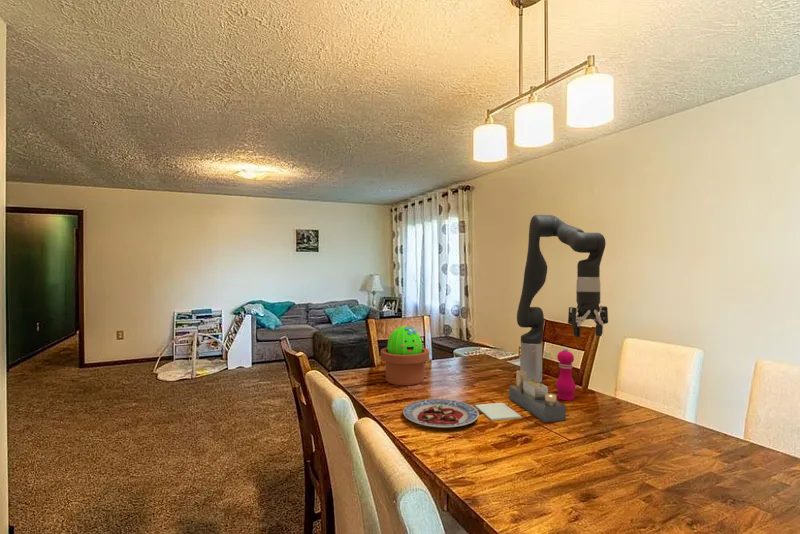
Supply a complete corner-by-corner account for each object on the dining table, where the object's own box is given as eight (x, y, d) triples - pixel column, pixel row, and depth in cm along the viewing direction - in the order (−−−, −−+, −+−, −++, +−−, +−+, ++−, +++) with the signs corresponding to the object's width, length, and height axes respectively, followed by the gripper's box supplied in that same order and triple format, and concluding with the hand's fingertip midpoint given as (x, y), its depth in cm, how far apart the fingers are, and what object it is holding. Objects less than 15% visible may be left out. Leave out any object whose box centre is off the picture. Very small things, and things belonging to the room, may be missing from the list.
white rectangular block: (523, 392, 146) (523, 379, 146) (535, 391, 148) (535, 378, 148) (535, 399, 139) (535, 385, 139) (547, 398, 140) (547, 384, 140)
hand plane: (509, 398, 154) (509, 370, 154) (527, 397, 156) (527, 369, 156) (544, 422, 131) (544, 389, 131) (565, 420, 132) (565, 387, 132)
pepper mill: (572, 395, 158) (572, 345, 158) (578, 401, 151) (578, 349, 151) (553, 394, 159) (553, 345, 159) (558, 400, 152) (558, 348, 152)
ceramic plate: (478, 436, 120) (478, 426, 120) (396, 429, 125) (396, 420, 125) (479, 407, 145) (479, 399, 146) (410, 402, 151) (410, 394, 151)
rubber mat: (474, 406, 146) (474, 404, 146) (502, 404, 148) (502, 402, 148) (491, 420, 132) (491, 419, 132) (521, 418, 134) (521, 416, 134)
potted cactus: (375, 375, 187) (375, 323, 187) (419, 372, 194) (419, 321, 194) (388, 389, 166) (388, 330, 166) (436, 384, 173) (436, 327, 173)
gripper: (598, 289, 142) (597, 333, 143) (563, 289, 139) (563, 335, 139) (613, 290, 135) (613, 337, 135) (577, 291, 132) (577, 339, 132)
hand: (588, 336), depth 137 cm, fingers open, 8 cm apart
